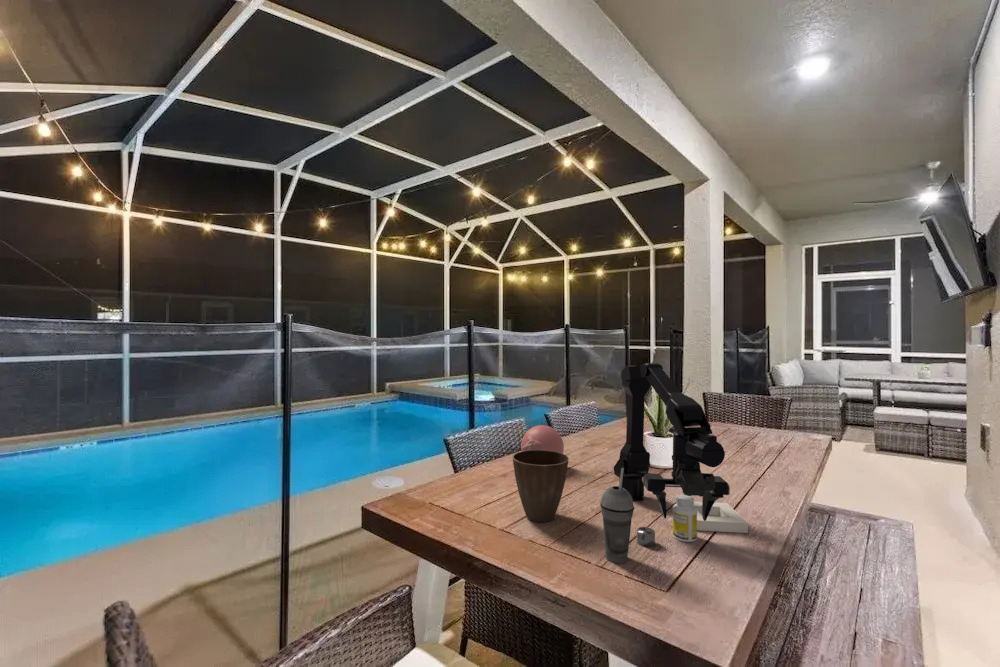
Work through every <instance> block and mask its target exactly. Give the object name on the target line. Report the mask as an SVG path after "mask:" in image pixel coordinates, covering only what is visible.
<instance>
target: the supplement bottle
mask: <svg viewBox="0 0 1000 667" xmlns="http://www.w3.org/2000/svg"><path fill="white" fill-rule="evenodd" d="M694 501H695V499H694V497H693V496H687V495H685V494H677V495H675V503H674V505H673V506H672V536H673V537H674V538H675V539H676V540H677V541H680V542H683V543H693V542H696V541H697V540H698V530H697V510H696V508H695V507H694V506H693V505H694Z"/></svg>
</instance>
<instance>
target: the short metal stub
mask: <svg viewBox="0 0 1000 667" xmlns="http://www.w3.org/2000/svg"><path fill="white" fill-rule="evenodd" d="M655 539H656V530H654V529H653V528H651V527H646V526H639V527H637V529H636V544H638V545H639V546H640V547H644V548H653V547H655V544H656V542H655V541H656V540H655Z"/></svg>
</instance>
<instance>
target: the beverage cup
mask: <svg viewBox="0 0 1000 667" xmlns="http://www.w3.org/2000/svg"><path fill="white" fill-rule="evenodd" d="M623 471H624V468H622V469H621V477H620V484H619V483H618V486H617V485H613V486H610V487H609V488H607V489H606V490H605V491H604V492H603V494H602V496H601V498H600V511H601V515H602V524H603V537H604V539H603V540H604V550H605V558H606V560H607V561H609V562H611V563H612V564H613V563H614V564H624V563H626V562H627V561H628V555H629V550H630V549H629V548H630V538H631V530H632V529H631V526H632V519H633V515H634V510H635V505H634V500H633V499H632V497H631V495H630V494H629V492H628V491H627V490H626V489H624V488H622V479H623Z"/></svg>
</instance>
